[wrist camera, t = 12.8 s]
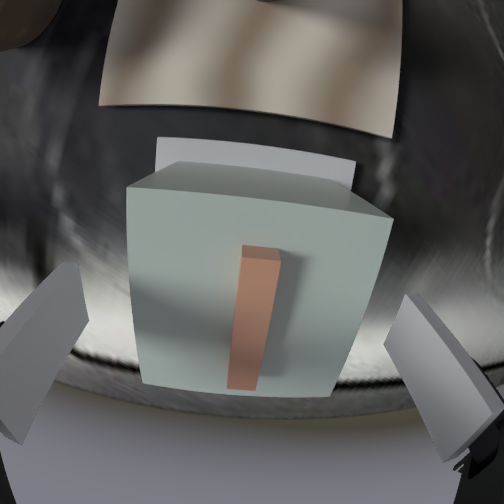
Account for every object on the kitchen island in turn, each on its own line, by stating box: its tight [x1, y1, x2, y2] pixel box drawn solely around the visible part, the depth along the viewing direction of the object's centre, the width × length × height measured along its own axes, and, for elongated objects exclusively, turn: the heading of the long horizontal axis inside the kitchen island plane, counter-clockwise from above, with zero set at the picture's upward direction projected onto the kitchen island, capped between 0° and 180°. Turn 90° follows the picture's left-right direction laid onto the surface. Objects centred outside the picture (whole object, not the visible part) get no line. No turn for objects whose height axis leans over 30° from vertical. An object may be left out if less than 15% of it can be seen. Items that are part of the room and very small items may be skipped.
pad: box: [155, 137, 356, 191], centre depth 19 cm, size 12×12×1 cm
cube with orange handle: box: [127, 161, 394, 397], centre depth 14 cm, size 9×9×9 cm
